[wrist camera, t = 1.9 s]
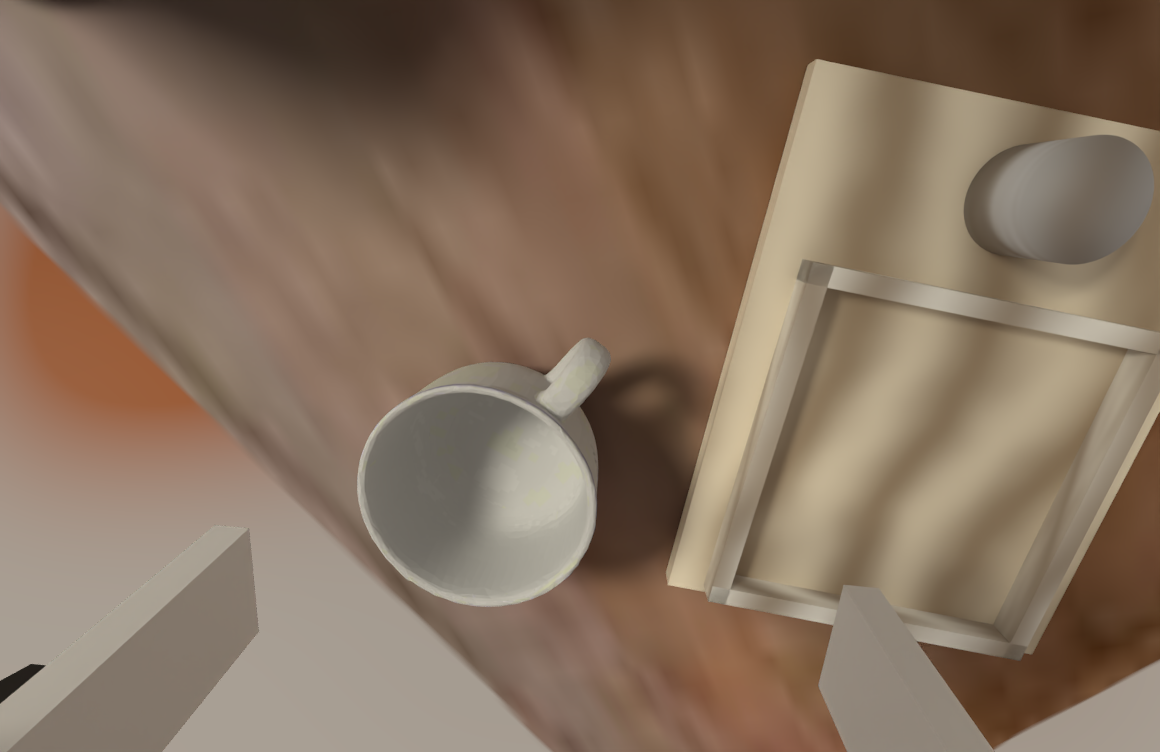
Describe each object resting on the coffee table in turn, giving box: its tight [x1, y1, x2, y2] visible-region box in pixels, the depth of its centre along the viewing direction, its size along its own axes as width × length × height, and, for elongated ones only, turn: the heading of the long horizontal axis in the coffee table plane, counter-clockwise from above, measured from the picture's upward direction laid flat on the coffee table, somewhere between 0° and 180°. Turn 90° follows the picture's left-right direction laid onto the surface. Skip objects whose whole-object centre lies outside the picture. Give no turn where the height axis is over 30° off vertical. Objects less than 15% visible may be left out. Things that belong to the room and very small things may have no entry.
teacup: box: [357, 338, 611, 607], centre depth 29 cm, size 14×11×8 cm
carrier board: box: [666, 59, 1160, 661], centre depth 29 cm, size 22×28×5 cm
